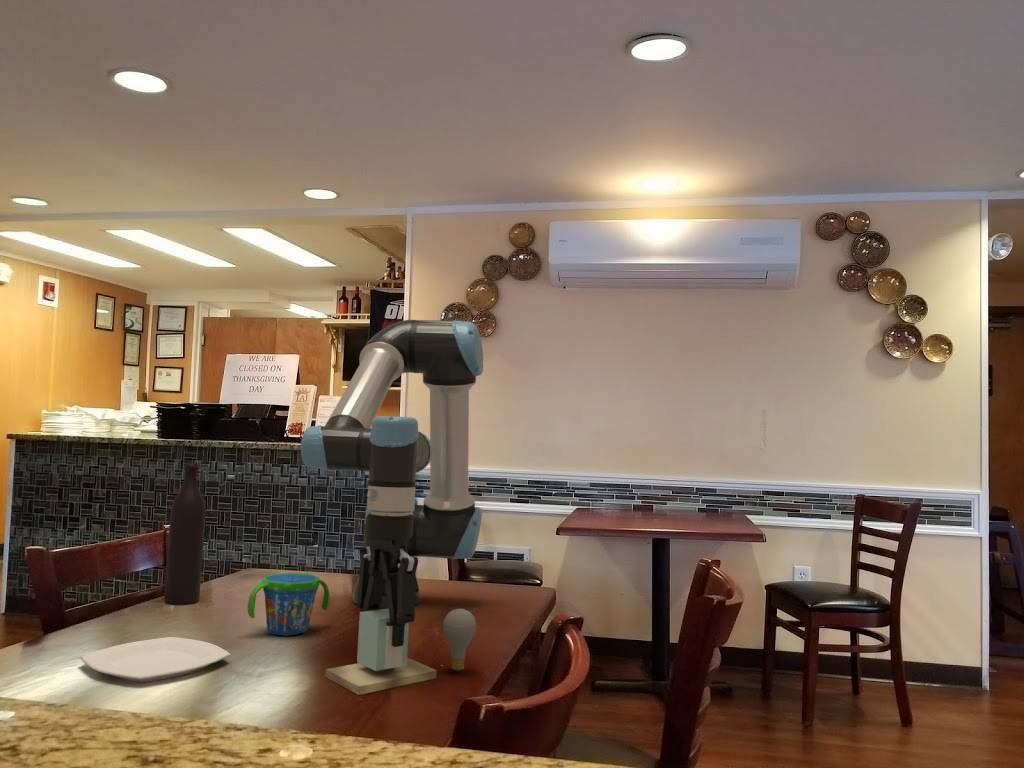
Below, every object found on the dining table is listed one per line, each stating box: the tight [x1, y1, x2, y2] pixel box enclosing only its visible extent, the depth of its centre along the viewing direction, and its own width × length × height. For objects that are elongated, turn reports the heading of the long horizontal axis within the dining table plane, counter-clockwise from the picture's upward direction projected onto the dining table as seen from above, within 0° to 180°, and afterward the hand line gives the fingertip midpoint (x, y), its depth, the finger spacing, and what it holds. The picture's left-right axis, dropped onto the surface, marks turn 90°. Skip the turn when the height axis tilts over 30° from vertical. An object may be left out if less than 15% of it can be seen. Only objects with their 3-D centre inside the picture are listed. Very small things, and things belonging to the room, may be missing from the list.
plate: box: [80, 636, 231, 683], centre depth 121 cm, size 19×19×2 cm
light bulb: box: [442, 608, 477, 673], centre depth 124 cm, size 6×6×10 cm
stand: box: [325, 657, 437, 696], centre depth 119 cm, size 14×10×7 cm
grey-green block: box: [356, 608, 410, 671], centre depth 119 cm, size 6×6×8 cm
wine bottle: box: [163, 462, 206, 606], centre depth 166 cm, size 7×7×30 cm
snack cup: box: [247, 572, 331, 637], centre depth 144 cm, size 16×10×10 cm
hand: (381, 661), depth 119 cm, fingers closed on grey-green block, 6 cm apart
